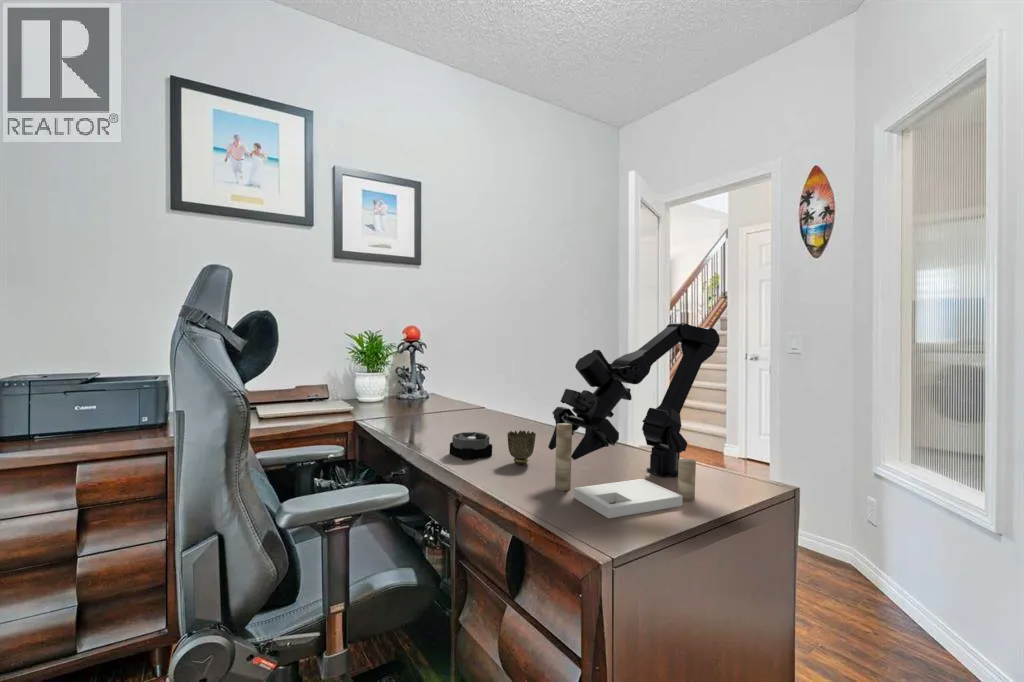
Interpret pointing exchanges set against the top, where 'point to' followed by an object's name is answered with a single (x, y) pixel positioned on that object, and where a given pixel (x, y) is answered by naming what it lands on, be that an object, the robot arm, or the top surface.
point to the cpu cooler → (470, 446)
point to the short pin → (686, 479)
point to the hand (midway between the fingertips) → (560, 453)
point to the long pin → (563, 457)
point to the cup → (521, 445)
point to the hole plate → (627, 497)
